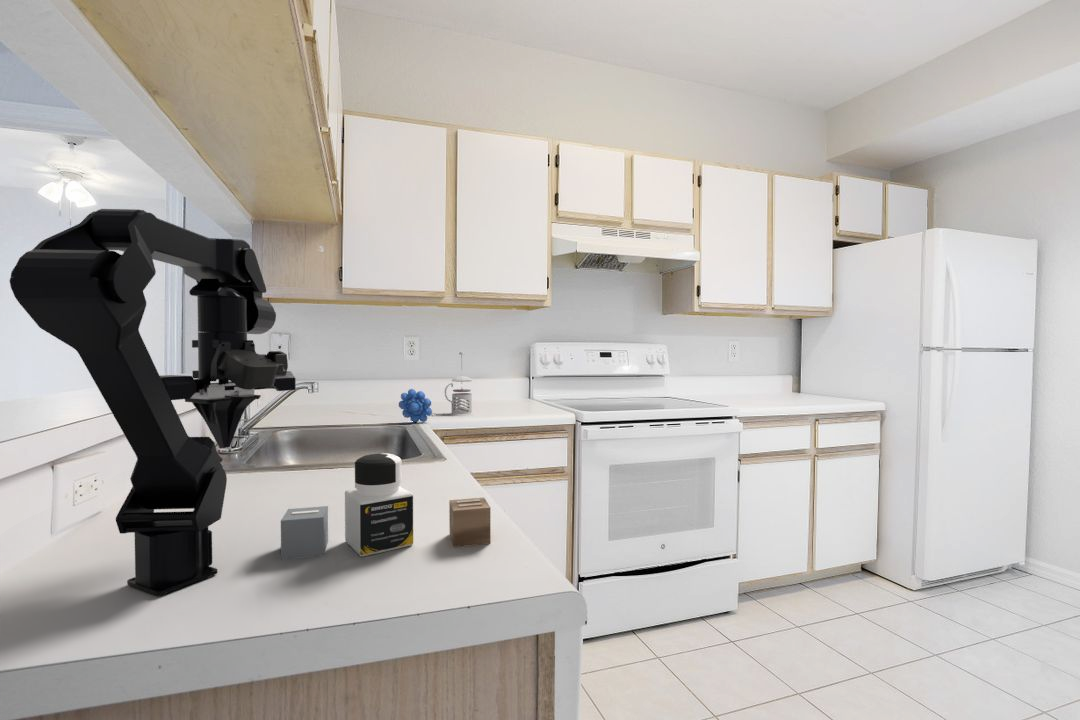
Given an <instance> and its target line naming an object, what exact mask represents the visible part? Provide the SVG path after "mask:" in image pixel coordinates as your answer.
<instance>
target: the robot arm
mask: <svg viewBox="0 0 1080 720" xmlns="http://www.w3.org/2000/svg"><path fill="white" fill-rule="evenodd" d="M116 251H120V252H123V253H122V254H120V253H119V252H116ZM154 260H155V261H158V262H160V263H161V262H162V263H166V264H170V265H173V266H177V267H180V268H181V269H182V268H183V274H184V275H186V276H187V277H189V278H191V279H192V280H194V281H195V282H196V285H194V286H192V287H191V288H190V290H189V295H190V296H193V297H197V339H192V340H191V348H194V349H195V348H196V349H197V351H198V352H197V356H198V357H197V359H198V360H197V362H198V363H197V364H198V370H192V375H179V374H178V375H177V374H175V375H174V374H173V375H172V374H166V375H162V374H161V375H160V374H159V372H158V369H157V368H156V365H155V364H154V363H155V362H153V358H152V357H151V354H150V352H149V350H148V348H147V346H146V344H145V341H144V339H143V338H142V335H141V333H140V331H139V330H140V325H141V322H142V319H143V316H144V313H145V311H146V308H147V304H148V303H147V300H146V297H145V293H144V290H145V289H146V288H147V286H148V285H149V284H150V282H151V281H152V279H153V278H154V277H155V275H156V274H157V273H156V272H157V271H156V267H155V263H154ZM8 281H9V285H10V289H11V290H12V293H13V296H14V298H15V299H16V301H17V302H18V303H19V305H20V306H21V307H22V308H23V309H24V311H25V312H26V313H27V315H29V316H30V318H31V319H32V320H33V321H34V324H36V325H37V326H38V327H39V328H40V329H41V330H43V331H45V332H46V333H48V334H49V335H51V336H53V337H55V338H56V339H57V340H59V341H61V342H62V343H65V345H67V346H69V347H71V348H72V349H74V350H75V351H76V352H77V354H78V355H79V357H80V358H81V361H82V362H83V364H84V365H85V367H86V369H87V371H88V372H89V374H90V377H91V378H92V380H93V382H94V383H95V385H96V387H97V389H98V391H99V392H100V394H101V396H102V398H103V399H104V401H105V403H106V405H107V407H108V409H109V410H110V411H111V414H112V416H113V418H114V419H115V420H116V423H117V424H118V426H119V428H120V430H121V431H122V433H123V435H124V436H125V438H126V440H127V442H128V444H129V445H130V447H131V449H132V451H133V453H134V454H135V457H136V458H137V459H136V461H135V463H134V464H135V465H134V466H133V469H132V473H131V476H130V478H129V479H130V482H131V485H132V487H131V488H130V490H129V492H128V494H127V496H126V498H125V499H124V501H123V504H122V505H121V507H120V509H119V511H118V513H117V515H116V517H115V522H116V526H117V529H118V532H119V534H120V535H121V534H130V533H134V573H135V574H134V575H135V577H131V578H128V580H126V583H127V586H130V587H132V588H136V589H139V590H140V591H144V592H146V593H149V594H152V595H155V596H162V595H166V594H169V593H171V592H174V591H176V590H179V589H181V588H183V587H186V586H189V585H192V584H194V583H197V582H199V581H201V580H204V579H206V578H210V577H212V576H214V575H217V574H218V568H216V567H213V566H211V565H213V531H212V530H210V529H209V527H210V526H211V525H213V524H214V523H216V522H217V521H219V520H221V518H222V513H223V507H224V503H225V502H224V501H225V494H226V490H227V489H226V488H227V481H228V480H227V479H228V478H227V472H226V471H225V469H224V468H223V467H224V466H223V465H222V462H223V458H222V457H221V456H220V455H219V453H218V450H217V447H216V445H215V443H216V444H217V446H218V447H219V448H220V449H228V448H230V447H231V444H232V442H233V439H234V437H235V434H236V431H237V430H238V429H237V428H238V427H239V423H240V422H241V419H242V417H243V414H244V413H245V411H246V409H247V408H248V406H249V405H251V404H252V403H253V402H254V401H255V400H260V399H261V394H255V391H256V390H269V389H270V390H271V389H273V390H276V392H285V391H295V390H297V385H296V384H297V383H296V381H297V379H296V377H295V375H294V374H293V372H292V371H289V370H288V369H289V368H288V367H289V363H288V354H287V353H285V352H283V351H281V350H276V351H275V350H270V351H268V352H267V353H266V354H263V353H262V354H260V353H257V352H256V346H255V345H256V344H255V343H254V340H253V339H252V340H251V339H248V335H262V334H265V333H267V332H269V331H270V330H271V329H272V328H273V326H274V325H275V323H276V321H277V320H276V319H277V314H276V313H277V312H276V311H275V308H274V306H273V305H272V304H271V302H269V301H268V300H266V299H265V298H263V294H266V293H267V287H266V284H265V281H264V278H263V275H262V271H261V268H260V264H259V261H258V258H257V255H256V252H255V251H254V250H253V249H252V248H251V246H250V244H249V243H248V242H247V241H246V240H244V239H237V238H215V237H214V238H212V237H211V238H210V237H207V236H205V235H202V234H199V233H197V232H195V231H192V230H188V229H186V228H183V226H182V227H181V226H179V225H176V224H173V223H172V222H168V221H165V220H163V219H160V218H158V217H156V214H153V213H152V212H147V211H145V210H144V209H135V208H134V209H133V208H131V209H128V208H127V209H126V208H125V209H122V208H119V209H118V208H100V209H97V210H96V211H92V212H90V213H89V214H88V215H86V216H85V218H83V220H82V221H81V222H79V223H77V224H75V225H73V226H71V227H68V228H67V229H65V230H62V231H60V232H58V233H56V234H54V235H52V236H50V237H47V238H45V239H43V240H41V241H40V242H39V243H38V244H37V245H36V246H35V247H34V248H32V250H28V251H26V252H24V254H23V255H21V256H20V257H18V260H17V262H16V265H15V266H14V267H13V269H12V270H11V273H10V278H9V280H8ZM217 380H218V381H217ZM178 400H179V401H181V400H184V402H185V403H192V405H193V407H195V409H196V410H197V411H198V413H199V414H200V415H201V417H202V419H203V420H204V422H205V423H206V425H207V427H208V430H209V431H210V433H211V435H212V436H213V438H214V440H215V441H214V440H213V439H212V438H211V437H210V436H189V435H188V433H187V431H186V429H185V427H184V425H183V423H182V421H181V418H180V416H179V414H178V412H177V410H176V408H175V405H174V403H173V401H178ZM179 509H180V510H185V509H186V510H189V509H190V510H191V509H192V511H158V512H157V511H156V512H155V510H179Z"/></svg>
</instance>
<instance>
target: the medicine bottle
mask: <svg viewBox="0 0 1080 720" xmlns="http://www.w3.org/2000/svg"><path fill="white" fill-rule="evenodd" d="M402 480H403V479H402V459H401V458H400V457H399V456H397V455H395V454H393V453H387V452H386V453H371V454H366V455H363V456H361V457H359V458H357V459H356V460H355V462H354V488H353V489H352V488H351V489H346V490H345V491H344V529H345V530H344V540H345V542H346V543H347V544H348V545H349V546H350V547H351V548H352V549H353V551H355V552H356V553H357V554H358V555H359V556H360V557H361V558H363V557H367V556H373V555H377V554H381V553H384V552H385V553H386V552H390V551H394V550H397V549H402V548H408V547H411V546H412V545H414V494H413V493H412V492H411V491H409V490H407V489H406V488H403V487H401V486H402V482H403V481H402Z"/></svg>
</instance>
